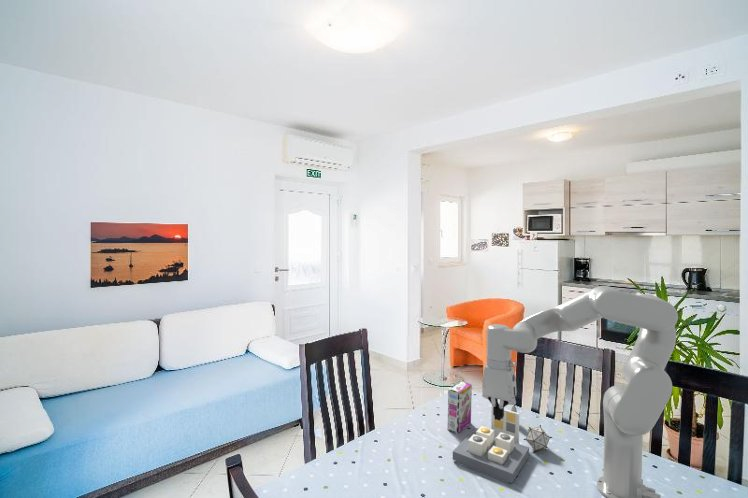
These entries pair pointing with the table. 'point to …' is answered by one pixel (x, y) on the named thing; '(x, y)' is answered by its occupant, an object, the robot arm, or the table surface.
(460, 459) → the board
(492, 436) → the button
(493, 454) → the button
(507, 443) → the button
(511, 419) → the card
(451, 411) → the candy bar box
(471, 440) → the button
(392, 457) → the table surface
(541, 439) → the game die
